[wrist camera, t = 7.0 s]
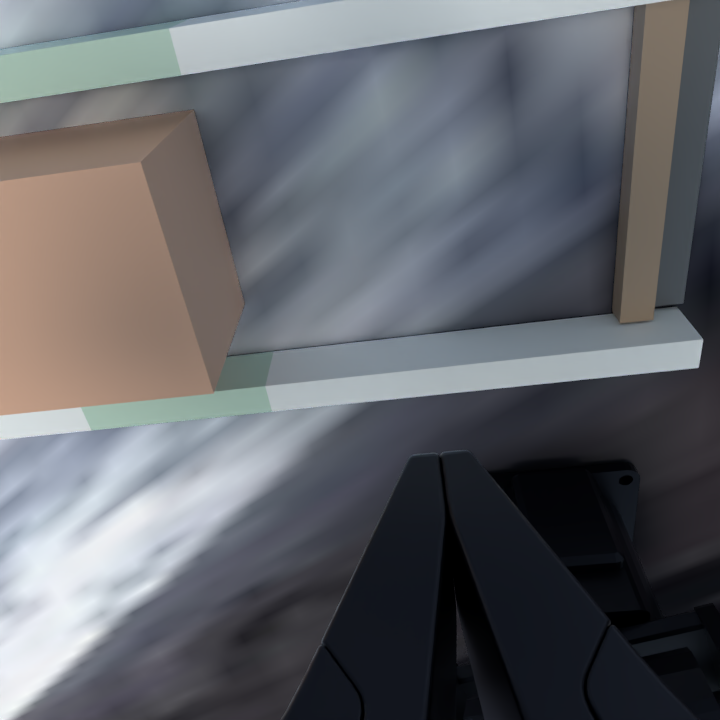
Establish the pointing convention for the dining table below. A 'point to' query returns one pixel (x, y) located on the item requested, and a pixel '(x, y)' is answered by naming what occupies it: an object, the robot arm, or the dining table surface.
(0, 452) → the dining table surface
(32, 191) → the block
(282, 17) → the trap lane
